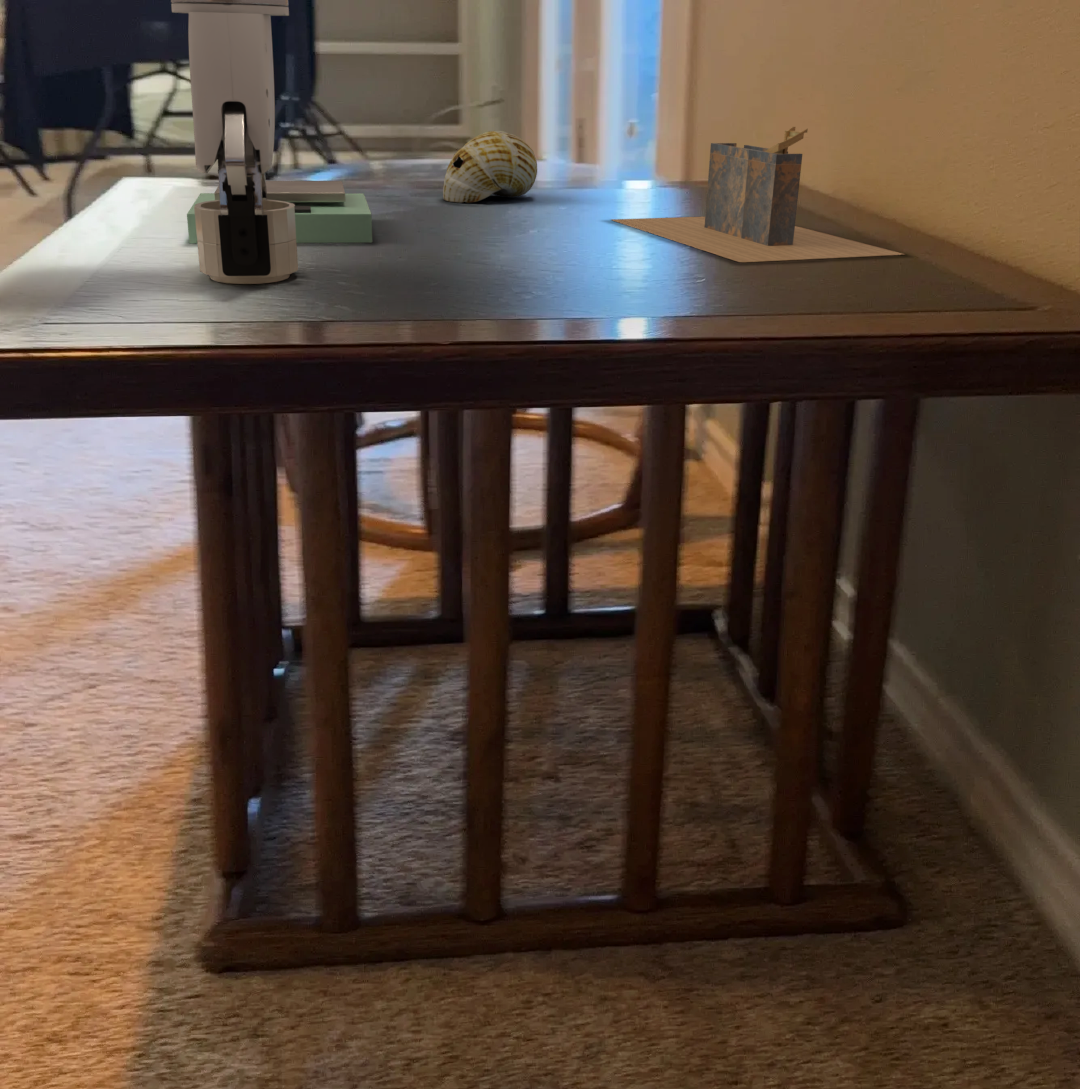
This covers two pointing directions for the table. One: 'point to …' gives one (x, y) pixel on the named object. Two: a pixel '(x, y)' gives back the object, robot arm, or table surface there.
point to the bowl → (279, 242)
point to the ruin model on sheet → (754, 210)
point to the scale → (317, 220)
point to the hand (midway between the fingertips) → (249, 263)
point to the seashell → (490, 168)
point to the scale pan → (303, 191)
